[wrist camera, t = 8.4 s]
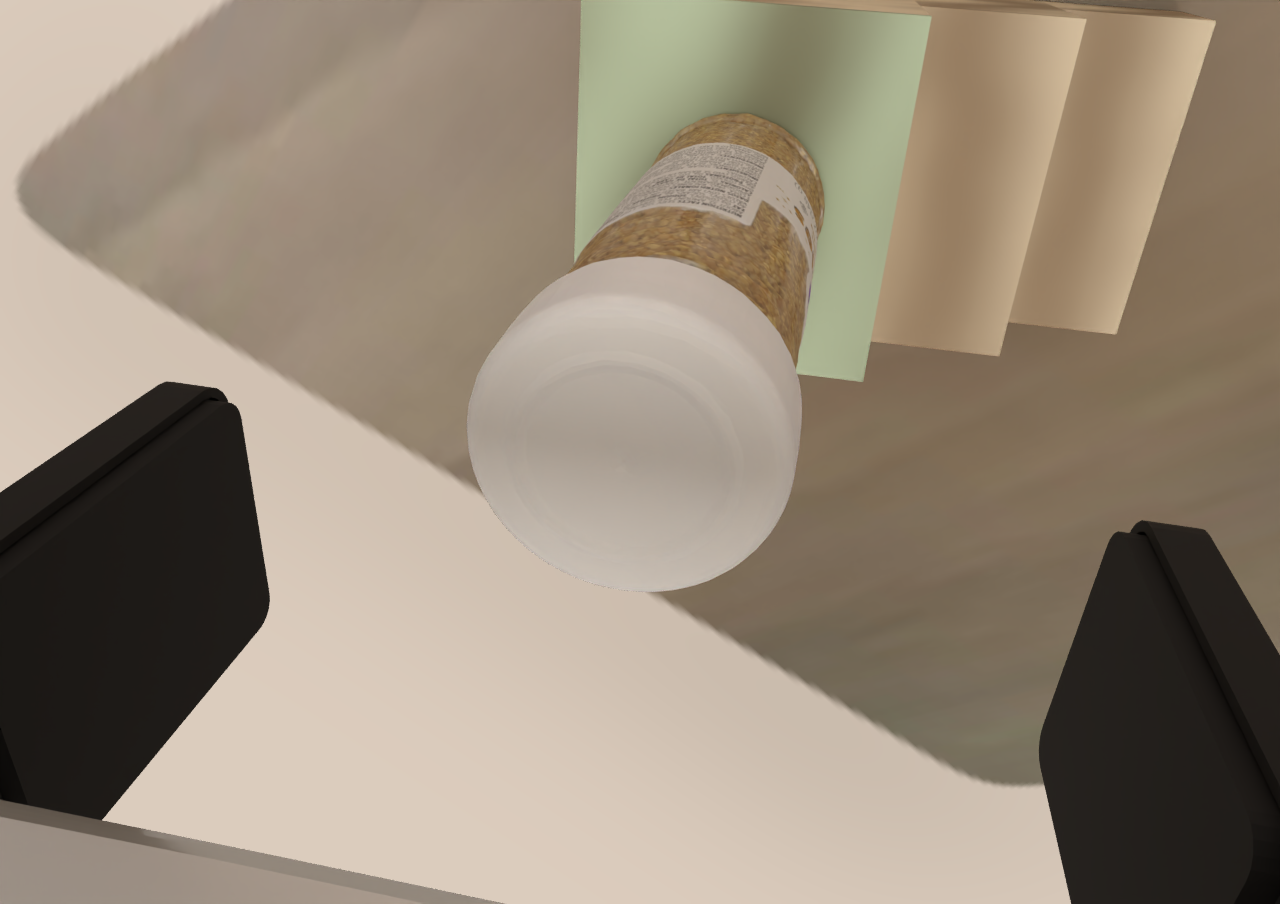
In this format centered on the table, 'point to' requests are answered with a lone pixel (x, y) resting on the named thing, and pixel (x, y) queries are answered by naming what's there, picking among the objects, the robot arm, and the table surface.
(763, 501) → the spice jar
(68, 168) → the table surface
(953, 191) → the step stand
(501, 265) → the table surface
